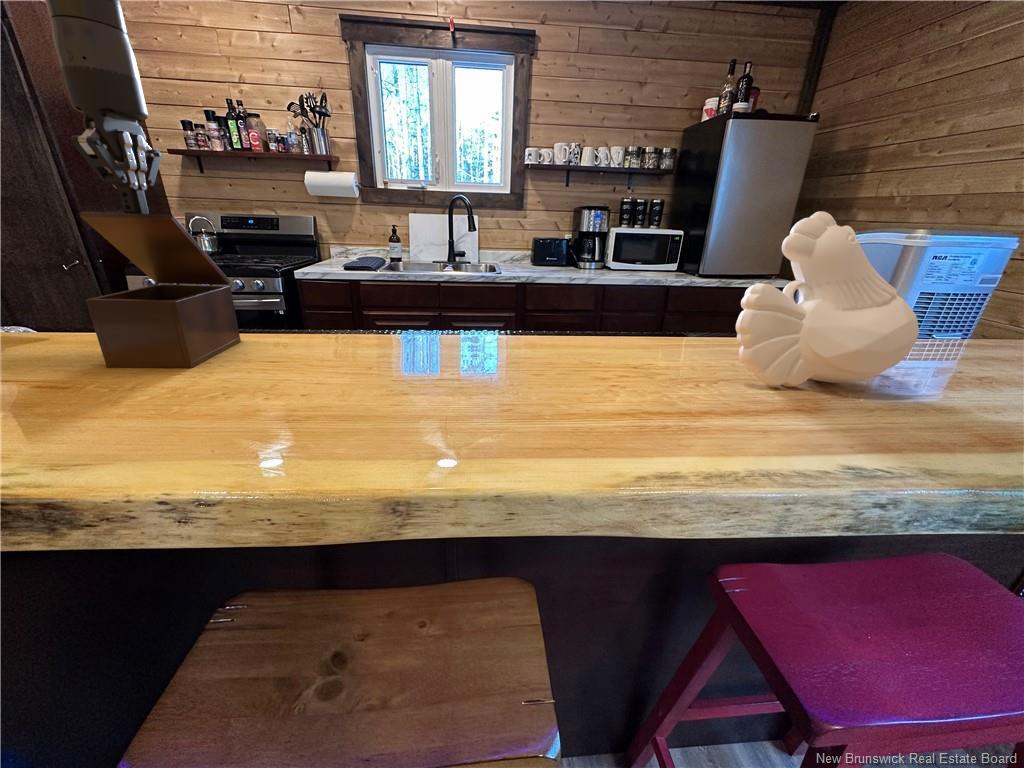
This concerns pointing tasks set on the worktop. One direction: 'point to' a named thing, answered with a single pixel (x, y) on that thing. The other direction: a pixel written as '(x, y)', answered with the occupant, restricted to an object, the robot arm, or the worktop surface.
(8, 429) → the worktop surface
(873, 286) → the decorative rooster
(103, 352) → the chest
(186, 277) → the lid
